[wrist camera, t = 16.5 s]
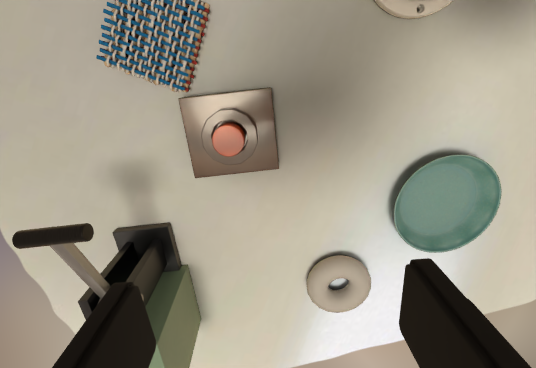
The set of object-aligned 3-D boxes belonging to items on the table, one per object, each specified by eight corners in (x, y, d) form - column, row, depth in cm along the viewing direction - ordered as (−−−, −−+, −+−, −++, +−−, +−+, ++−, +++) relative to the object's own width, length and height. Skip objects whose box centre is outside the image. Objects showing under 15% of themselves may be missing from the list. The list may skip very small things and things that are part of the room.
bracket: (116, 228, 41) (57, 289, 29) (170, 222, 41) (133, 281, 29) (131, 273, 44) (83, 345, 32) (182, 267, 44) (152, 338, 32)
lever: (22, 223, 25) (4, 245, 23) (89, 215, 25) (77, 237, 23) (99, 301, 34) (91, 321, 32) (148, 296, 34) (142, 316, 32)
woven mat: (190, 96, 35) (186, 97, 33) (103, 64, 33) (93, 63, 32) (214, 6, 32) (211, 1, 30) (118, -35, 30) (109, -42, 28)
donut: (337, 310, 48) (379, 271, 45) (343, 327, 45) (388, 286, 42) (292, 282, 46) (333, 239, 43) (294, 297, 42) (339, 253, 40)
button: (212, 124, 33) (209, 126, 31) (242, 120, 33) (241, 123, 31) (217, 154, 34) (214, 158, 32) (246, 150, 34) (246, 154, 32)
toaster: (124, 271, 44) (66, 354, 31) (187, 264, 44) (157, 344, 30) (142, 325, 48) (98, 418, 34) (201, 318, 47) (178, 410, 34)
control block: (182, 97, 35) (173, 99, 31) (270, 87, 35) (271, 88, 31) (198, 173, 38) (191, 183, 35) (278, 164, 38) (280, 173, 35)
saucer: (495, 220, 42) (509, 228, 40) (401, 256, 44) (409, 267, 42) (477, 132, 38) (492, 135, 35) (372, 177, 39) (380, 183, 37)
